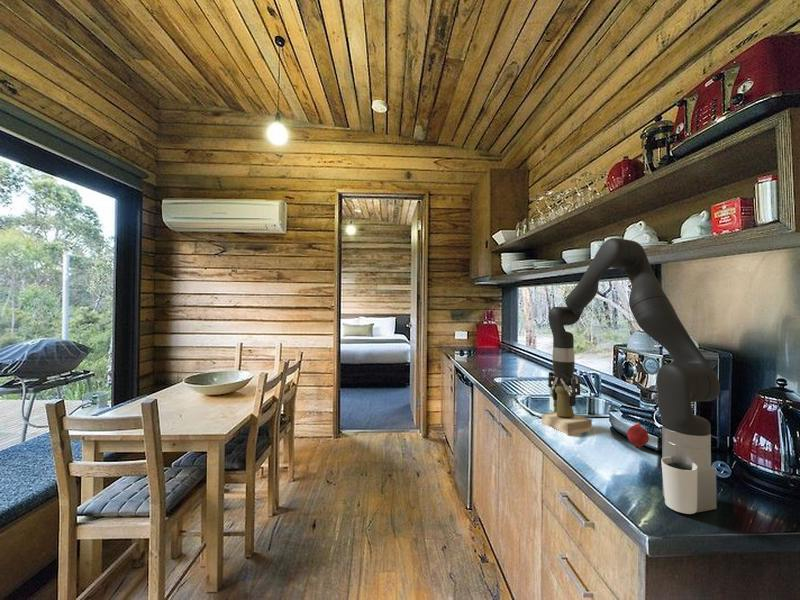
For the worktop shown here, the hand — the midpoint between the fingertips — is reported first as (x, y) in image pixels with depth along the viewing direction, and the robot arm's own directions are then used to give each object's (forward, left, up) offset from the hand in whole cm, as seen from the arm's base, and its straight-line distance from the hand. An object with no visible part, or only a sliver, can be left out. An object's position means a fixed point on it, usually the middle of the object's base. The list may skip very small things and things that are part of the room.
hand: (563, 402), depth 132 cm
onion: (-21, -11, -10) cm, 26 cm away
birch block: (0, -1, -10) cm, 10 cm away
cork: (0, 0, -5) cm, 5 cm away
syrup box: (+15, -10, -10) cm, 21 cm away
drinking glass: (-50, +9, -10) cm, 52 cm away
